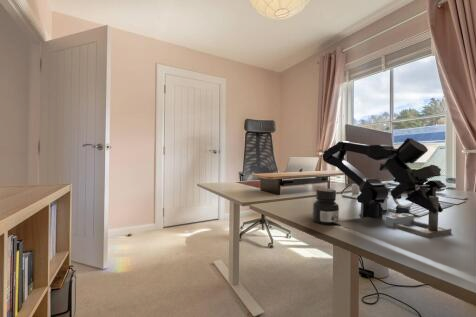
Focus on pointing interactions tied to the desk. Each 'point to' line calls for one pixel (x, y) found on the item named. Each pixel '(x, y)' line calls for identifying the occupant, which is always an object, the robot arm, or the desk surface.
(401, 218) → the gauge cabinet
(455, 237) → the desk surface
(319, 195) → the ink bottle
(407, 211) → the watch
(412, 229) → the open grey box
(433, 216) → the grey cylinder
